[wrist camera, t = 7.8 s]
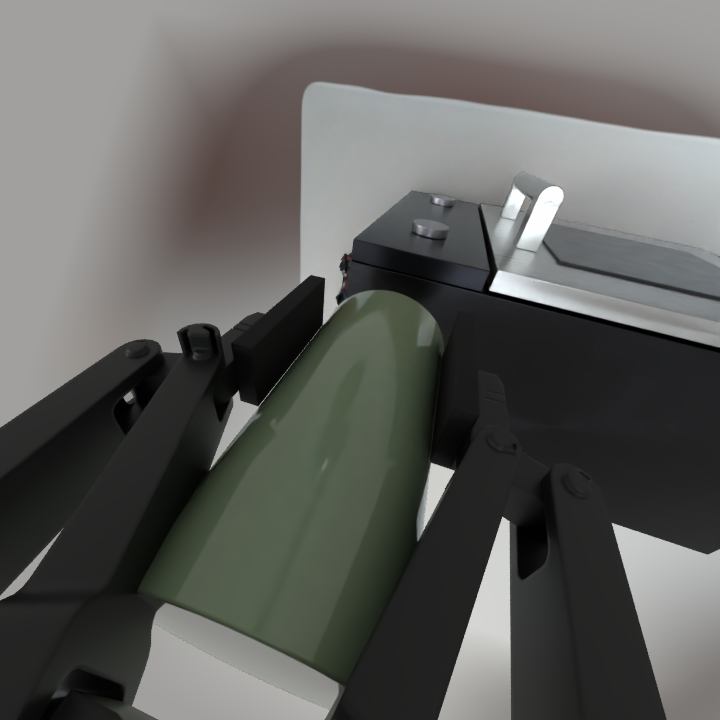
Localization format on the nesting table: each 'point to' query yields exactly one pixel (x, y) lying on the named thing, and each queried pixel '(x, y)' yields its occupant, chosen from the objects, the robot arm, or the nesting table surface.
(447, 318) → the microwave
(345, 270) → the toy car
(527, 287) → the microwave door
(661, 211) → the nesting table surface
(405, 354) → the canister
